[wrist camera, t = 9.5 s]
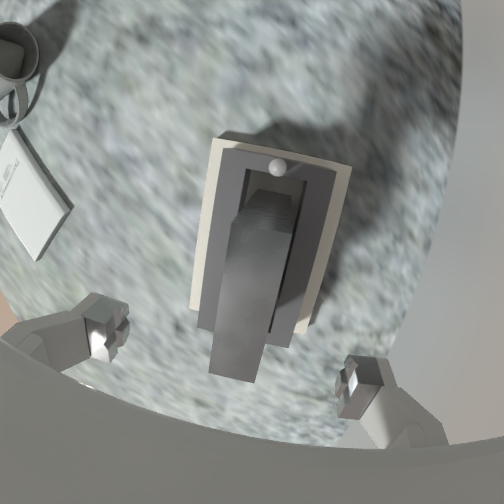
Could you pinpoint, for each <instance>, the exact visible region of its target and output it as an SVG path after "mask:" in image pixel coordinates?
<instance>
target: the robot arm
mask: <svg viewBox="0 0 504 504" xmlns="http://www.w3.org/2000/svg"><path fill="white" fill-rule="evenodd" d="M128 314H129V306H128V304H127V303H125V302H122V301H119V300H116V299H113V298H110V297H107V296H104V295H101V294H98V293H95V292H93V293H90V294H89V295H88V296H87V297H86V298H85V299H84V300H82V301H81V302H80V303H79V304H78V305H77V306H76V307H75V308H73V309H72V310H71V311H70V312H69V311H63V312H59V313H55V314H51V315H47V316H43V317H39V318H35V319H31V320H27V321H23V322H19V323H16V324H15V325H14V326H13V327H11V328H10V329H9V330H8V331H7V332H6V333H4V334H3V335H2V336H1V337H0V504H504V436H502V437H497V438H492V439H487V440H481V441H475V442H469V443H462V444H454V445H449V443H448V440H447V437H446V434H445V432H444V429H443V426H442V423H441V422H440V421H438V420H437V419H436V418H435V417H434V416H433V415H432V414H431V413H429V412H428V411H427V410H426V409H425V408H423V406H421V405H420V404H419V403H418V402H417V401H416V400H414V399H413V398H412V397H411V396H410V395H409V394H408V393H407V392H405V391H404V390H403V389H402V388H398V387H397V384H396V381H395V378H394V375H393V372H392V369H391V366H390V364H389V361H388V359H387V358H380V357H367V356H359V355H352V354H349V355H348V356H347V357H346V359H345V361H344V365H345V368H344V369H342V370H341V371H340V372H339V374H338V376H337V379H336V383H335V395H336V396H337V397H338V399H339V400H338V402H337V404H336V406H337V414H338V418H345V419H355V420H359V421H360V423H361V424H362V426H363V427H364V428H365V430H366V431H367V433H368V434H369V435H370V437H371V438H372V439H373V440H374V442H375V443H376V445H377V446H378V447H379V449H354V448H335V447H322V446H311V445H302V444H294V443H286V442H279V441H273V440H267V439H261V438H255V437H250V436H245V435H240V434H235V433H230V432H226V431H221V430H217V429H213V428H209V427H205V426H201V425H197V424H194V423H190V422H186V421H183V420H179V419H176V418H173V417H169V416H166V415H163V414H160V413H157V412H154V411H151V410H148V409H145V408H142V407H140V406H137V405H134V404H131V403H129V402H126V401H123V400H121V399H118V398H116V397H113V396H111V395H108V394H106V393H104V392H101V391H99V390H97V389H94V388H92V387H90V386H87V385H85V384H83V383H81V382H79V381H77V380H75V379H72V378H70V377H68V376H66V375H64V374H62V373H60V372H61V371H63V370H66V369H68V368H70V367H72V366H74V365H76V364H78V363H80V362H82V361H84V360H86V359H89V358H90V356H91V357H93V358H96V359H99V360H101V361H104V362H107V363H109V364H110V363H111V361H112V360H113V358H114V357H115V356H116V354H117V353H118V350H117V348H118V347H121V346H123V345H124V344H125V342H126V341H127V338H128V335H129V330H130V323H129V321H128V320H127V318H126V316H127V315H128Z"/></svg>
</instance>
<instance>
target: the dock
mask: <svg viewBox="0 0 504 504" xmlns="http://www.w3.org/2000/svg"><path fill="white" fill-rule="evenodd" d="M351 170H352V167H351V166H348V165H344V164H340V163H336V162H332V161H328V160H324V159H320V158H316V157H312V156H307V155H303V154H298V153H294V152H289V151H284V150H280V149H275V148H270V147H264V146H259V145H254V144H248V143H243V142H237V141H231V140H224V139H218V138H213V141H212V146H211V152H210V158H209V164H208V170H207V176H206V183H205V189H204V196H203V202H202V209H201V216H200V223H199V231H198V238H197V246H196V254H195V262H194V270H193V279H192V288H191V298H190V307H189V309H193V310H197V311H199V315H198V324H197V327H198V328H202V329H206V330H209V331H213V332H214V330H215V323H216V317H217V310H218V303H219V297H220V290H221V284H222V278H223V271H224V265H225V259H226V253H227V247H228V240H229V234H230V228H231V223H232V221H233V220H234V218H235V217H236V216H237V214H238V213H239V212H240V211H241V209H242V208H243V207H244V205H245V204H246V203H247V202H248V200H249V199H250V198H251V197H252V195H253V194H254V193H255V192H256V190H257V189H262V190H267V191H272V192H277V193H281V194H286V195H291V207H292V237H291V241H290V245H289V250H288V254H287V258H286V262H285V266H284V271H283V275H282V279H281V283H280V287H279V291H278V295H277V299H276V303H275V307H274V311H273V315H272V318H271V322H270V326H269V330H268V334H267V338H266V341H265V343H266V344H271V345H276V346H281V347H286V348H289V345H290V341H291V338H292V335H293V332H294V333H299V334H305V333H306V330H307V327H308V324H309V321H310V318H311V315H312V312H313V309H314V305H315V302H316V299H317V296H318V293H319V290H320V286H321V283H322V280H323V276H324V273H325V270H326V266H327V263H328V259H329V256H330V252H331V249H332V245H333V242H334V238H335V234H336V231H337V227H338V223H339V219H340V216H341V212H342V208H343V204H344V200H345V196H346V192H347V187H348V183H349V179H350V175H351Z"/></svg>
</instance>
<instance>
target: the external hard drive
mask: <svg viewBox="0 0 504 504" xmlns="http://www.w3.org/2000/svg"><path fill="white" fill-rule="evenodd" d="M0 208H1V209H2V211H3V213H4V215H5V216H6V218H7V220H8V221H9V223H10V225H11V226H12V228H13V229H14V231H15V233H16V234H17V236H18V237H19V239H20V240H21V242H22V243H23V245H24V246H25V248H26V249H27V251H28V252H29V254H30V255H31V256H32V258H33V259H34V261H35V262H37V261H38V260H40V259H41V257H42V255H43V254H44V252H45V250H46V249H47V247H48V245H49V244H50V242H51V240H52V239H53V237H54V236H55V234H56V233H57V231H58V229H59V228H60V226H61V225H62V223H63V222H64V220H65V219H66V217H67V216H68V214H69V213H70V212H71V210H70V209H69V207H68V206H67V205H66V203H65V202H64V201H63V199H62V198H61V196H60V195H59V194H58V192H57V191H56V189H55V188H54V187H53V185H52V184H51V182H50V181H49V179H48V178H47V176H46V175H45V173H44V172H43V170H42V169H41V167H40V166H39V164H38V163H37V161H36V160H35V158H34V157H33V155H32V154H31V152H30V150H29V149H28V147H27V146H26V144H25V142H24V141H23V139H22V137H21V136H20V134H19V132H18V131H17V129H12V130H11V131H10V132H9V133H8V135H7V137H6V139H5V141H4V143H3V146H2V148H1V150H0Z"/></svg>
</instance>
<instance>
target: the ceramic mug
mask: <svg viewBox="0 0 504 504" xmlns="http://www.w3.org/2000/svg"><path fill="white" fill-rule="evenodd" d="M38 61H39V48H38V44H37V41H36V39H35V37H34V35H33V34H32V32H31V31H30V30H29V29H28V28H26V27H25V26H23V25H22V24H19V23H17V22H4V23H1V24H0V100H2V99H3V98H4V97H5V96H6V95H7V94H9V93H10V92H11V91H13V90H14V89H15V91H16V98H17V105H18V108H17V115H16V117H14V118H9V119H7V118H5V117H4V116H3V114H2V113H1V111H0V127H2V128H9V127H12V126H13V125H15V124H16V123H18V122H19V121H21V120H22V119H23V118H24V116H25V114H26V112H27V108H28V93H27V88H26V84H25V81H26V80H27V79H29V78H30V77H31V76H32V74H33V73H34V72H35V70H36V68H37V65H38Z"/></svg>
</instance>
